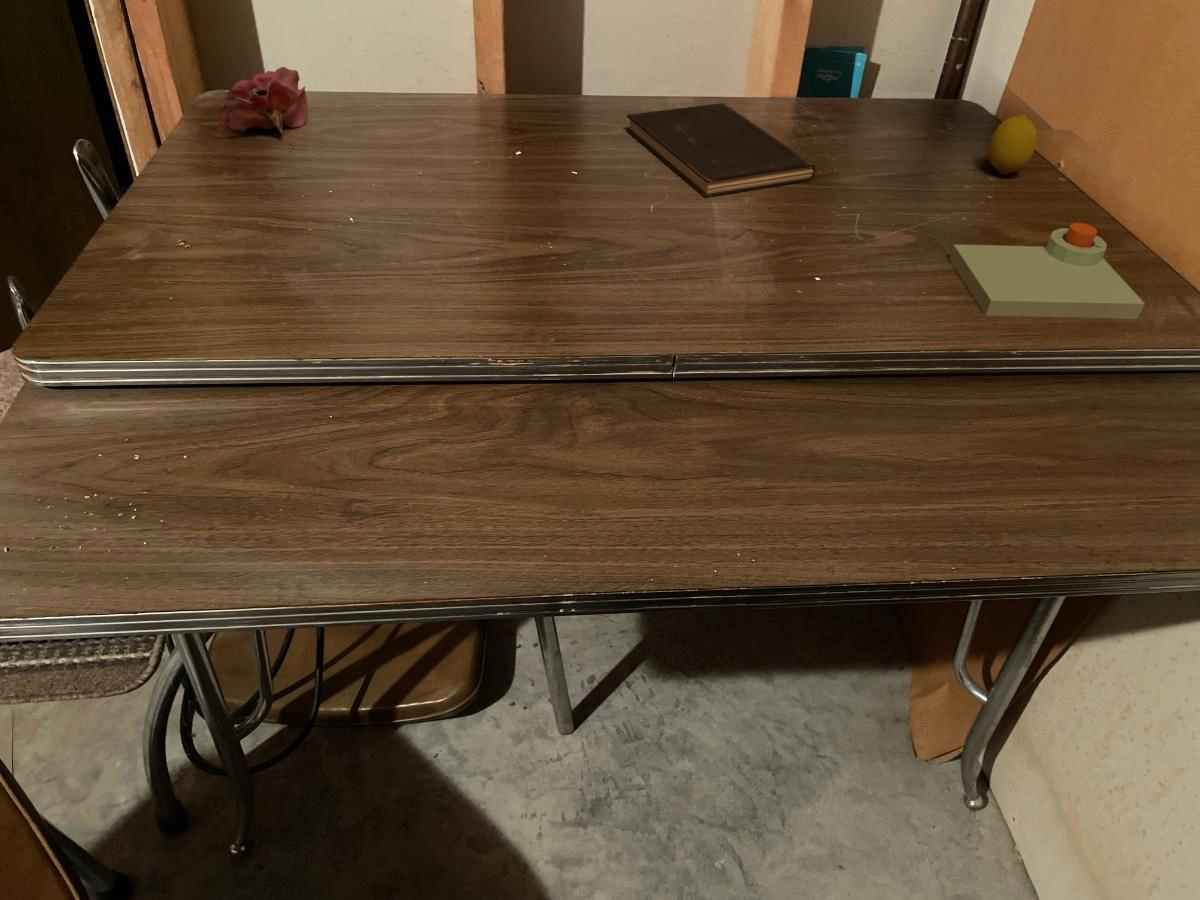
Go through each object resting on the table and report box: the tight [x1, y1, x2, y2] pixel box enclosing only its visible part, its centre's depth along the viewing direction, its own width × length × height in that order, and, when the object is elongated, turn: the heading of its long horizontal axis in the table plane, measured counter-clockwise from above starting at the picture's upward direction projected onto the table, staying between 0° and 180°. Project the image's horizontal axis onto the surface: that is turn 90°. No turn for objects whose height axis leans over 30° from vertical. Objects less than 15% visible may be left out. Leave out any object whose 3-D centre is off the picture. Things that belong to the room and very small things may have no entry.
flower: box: [218, 66, 309, 147], centre depth 120 cm, size 11×10×10 cm
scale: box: [948, 227, 1145, 320], centre depth 98 cm, size 16×13×4 cm
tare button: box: [1064, 222, 1098, 248], centre depth 100 cm, size 3×3×2 cm
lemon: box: [988, 113, 1038, 176], centre depth 119 cm, size 6×6×8 cm
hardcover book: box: [625, 102, 816, 198], centre depth 122 cm, size 16×23×2 cm
